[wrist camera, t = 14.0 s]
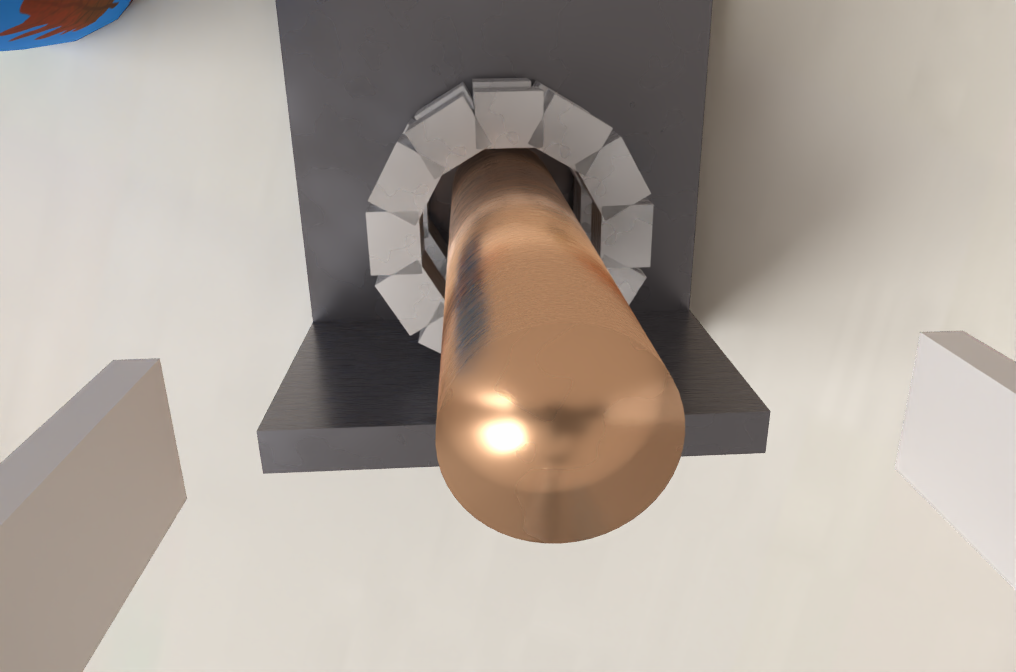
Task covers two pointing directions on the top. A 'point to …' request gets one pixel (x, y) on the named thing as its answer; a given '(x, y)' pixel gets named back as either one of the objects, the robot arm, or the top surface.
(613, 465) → the copper tube
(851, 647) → the top surface
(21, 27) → the thermos
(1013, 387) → the robot arm
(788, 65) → the top surface
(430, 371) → the collar stand
